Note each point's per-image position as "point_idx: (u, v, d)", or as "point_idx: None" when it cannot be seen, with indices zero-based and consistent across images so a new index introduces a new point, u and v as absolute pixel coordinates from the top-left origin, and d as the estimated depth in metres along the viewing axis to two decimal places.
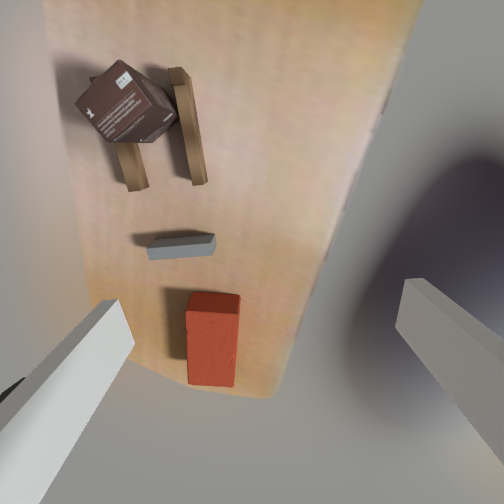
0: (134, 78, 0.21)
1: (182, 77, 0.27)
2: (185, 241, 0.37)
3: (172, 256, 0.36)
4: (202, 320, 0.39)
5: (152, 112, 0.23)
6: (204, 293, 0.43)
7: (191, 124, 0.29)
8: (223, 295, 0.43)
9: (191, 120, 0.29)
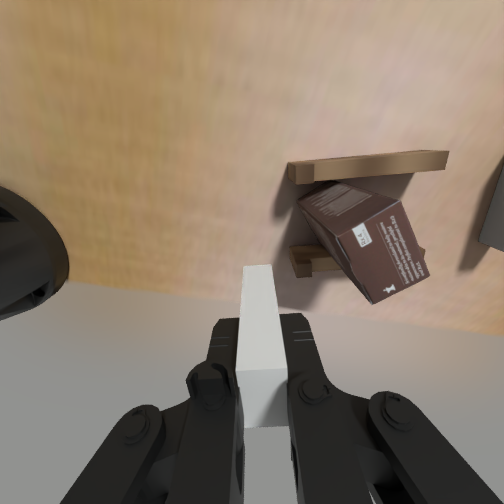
0: (357, 220, 0.14)
1: (307, 165, 0.19)
2: None
3: None
4: None
5: None
6: None
7: (360, 161, 0.20)
8: None
9: (354, 160, 0.20)
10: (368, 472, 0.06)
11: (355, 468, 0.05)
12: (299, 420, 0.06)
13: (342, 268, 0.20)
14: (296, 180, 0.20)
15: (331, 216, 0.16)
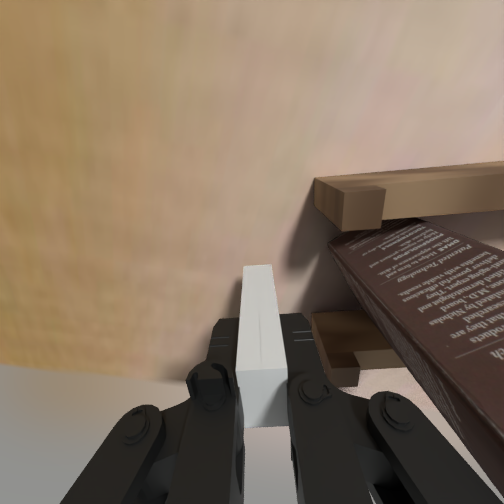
0: None
1: (370, 191, 0.09)
2: None
3: None
4: None
5: None
6: None
7: (477, 180, 0.09)
8: None
9: (465, 179, 0.09)
10: (369, 472, 0.06)
11: (355, 468, 0.05)
12: (299, 420, 0.06)
13: (443, 414, 0.09)
14: (342, 222, 0.09)
15: (466, 348, 0.06)
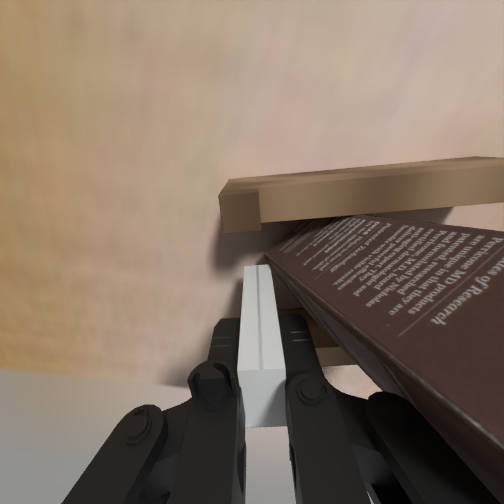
0: None
1: (244, 194, 0.09)
2: None
3: None
4: None
5: None
6: None
7: (360, 182, 0.09)
8: None
9: (349, 181, 0.09)
10: (366, 472, 0.06)
11: (353, 468, 0.05)
12: (297, 420, 0.06)
13: None
14: (224, 225, 0.09)
15: (407, 322, 0.05)
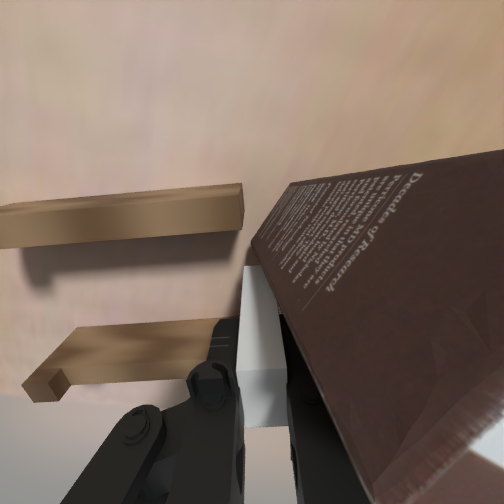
0: (461, 350, 0.02)
1: None
2: None
3: None
4: None
5: None
6: None
7: (66, 214, 0.10)
8: None
9: (56, 213, 0.10)
10: None
11: None
12: (299, 420, 0.06)
13: None
14: None
15: (311, 293, 0.05)
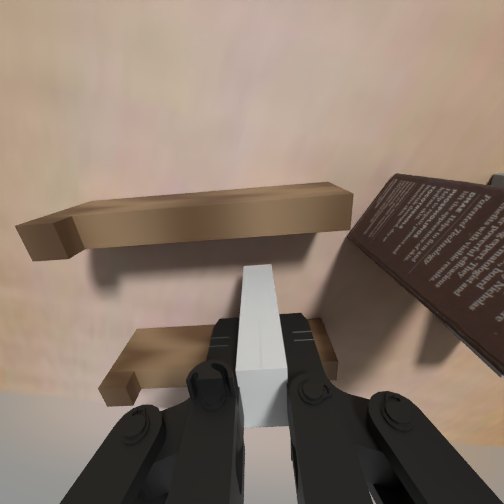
0: None
1: (41, 225, 0.09)
2: None
3: None
4: None
5: None
6: None
7: (170, 212, 0.10)
8: None
9: (159, 211, 0.10)
10: (368, 473, 0.06)
11: (355, 468, 0.05)
12: (299, 420, 0.06)
13: None
14: (32, 253, 0.09)
15: None
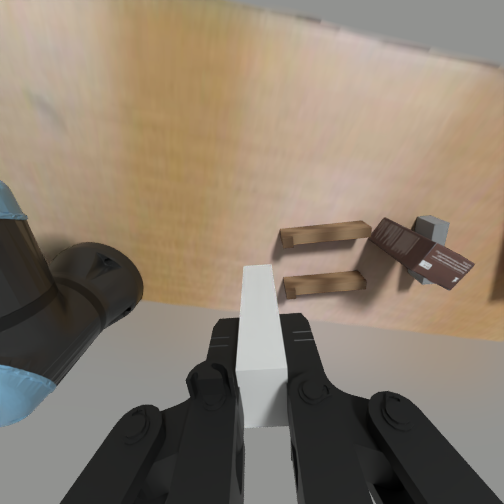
0: (419, 258, 0.27)
1: (289, 238, 0.34)
2: None
3: None
4: None
5: None
6: None
7: (320, 233, 0.35)
8: None
9: (317, 233, 0.35)
10: (369, 472, 0.06)
11: (355, 468, 0.05)
12: (299, 420, 0.06)
13: None
14: (283, 246, 0.35)
15: (402, 255, 0.30)
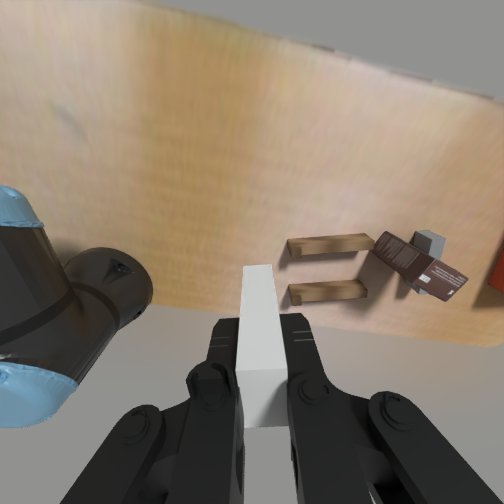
0: (419, 272, 0.30)
1: (298, 249, 0.36)
2: None
3: None
4: None
5: (430, 256, 0.30)
6: None
7: (326, 245, 0.37)
8: None
9: (323, 245, 0.37)
10: (368, 472, 0.06)
11: (355, 468, 0.05)
12: (299, 420, 0.06)
13: None
14: (292, 256, 0.37)
15: (403, 268, 0.32)
